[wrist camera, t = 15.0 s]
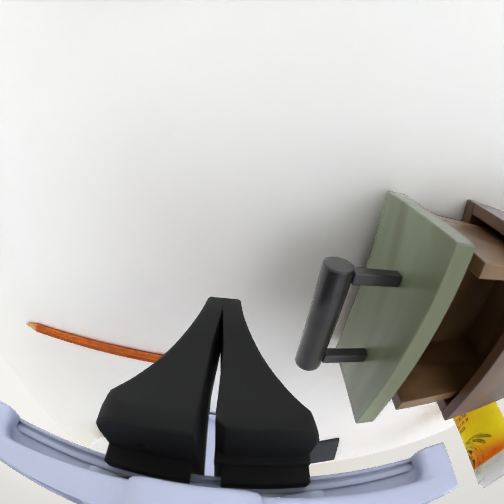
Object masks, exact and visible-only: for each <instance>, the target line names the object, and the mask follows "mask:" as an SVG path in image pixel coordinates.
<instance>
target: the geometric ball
mask: <svg viewBox="0 0 504 504" xmlns="http://www.w3.org/2000/svg"><path fill="white" fill-rule="evenodd" d="M108 445H109V442H108V441H107V440H106V438H105V437H102V438H97V439H96V440H95V441H94V443H93V444H92V445H91V446H90V447H89V449H91V450H94V451H97V452H100V453H103V454H106V452H107V448H108Z"/></svg>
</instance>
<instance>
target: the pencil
mask: <svg viewBox="0 0 504 504" xmlns="http://www.w3.org/2000/svg"><path fill="white" fill-rule="evenodd" d="M26 324H27V325H28V326H30V327H31V328H32V329H34V330H35V331H37V332H40V333H43V334H45V335H48V336H51V337H54V338H57V339H61V340H64V341H67V342H70V343H74V344H77V345H81V346H84V347H88V348H91V349H95V350H99V351H103V352H107V353H111V354H115V355H119V356H123V357H128V358H132V359H137V360H142V361H147V362H152V363H155V362H156V361H157V360H158V359H160V358H161V357H162V356H163V355H160V354H154V353H149V352H144V351H139V350H134V349H129V348H125V347H120V346H116V345H111V344H107V343H103V342H99V341H95V340H91V339H87V338H84V337H80V336H76V335H73V334H69V333H66V332H63V331H59V330H56V329H53V328H50V327H47V326H44V325H41V324H36V323H26Z"/></svg>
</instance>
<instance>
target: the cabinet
mask: <svg viewBox="0 0 504 504" xmlns="http://www.w3.org/2000/svg"><path fill="white" fill-rule="evenodd" d="M462 222H466V223H470V224H474V225H478V226H482V227H485V228H489V229H493V230H496V231H497V232H499V233H500V234H502V235H503V236H504V212H503V211H500V210H497V209H495V208H492V207H489V206H486V205H483V204H481V203H478V202H475V201H472V200H468V203H467V206H466V210H465V213H464V217H463V220H462ZM502 398H504V332H503V334H502V335H501V337H500V338H499V340H498V342H497V343H496V345H495V346H494V348H493V349H492V351H491V352H490V353H489V355H488V356H487V358H486V359H485V361H484V362H483V363H482V365H481V366H480V367H479V369H478V370H477V371H476V373H475V374H474V375H473V376H472V378H471V379H470V380H469V382H468V383H467V384H466V385H465V386H464V388H463V389H462V390H461V391H460V392H459V394H458V395H457V396H455V397H451V398H448V399H444V400H440V401H437V404H438V406H439V408H440V410H441V412H442V415H443V417H444V420H448V419H451V418H454V417H457V416H460V415H463V414H465V413H468V412H471V411H473V410H476V409H479V408H481V407H483V406H486V405H488V404H491V403H493V402H495V401H497V400H500V399H502Z"/></svg>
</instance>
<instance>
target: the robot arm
mask: <svg viewBox="0 0 504 504" xmlns="http://www.w3.org/2000/svg"><path fill="white" fill-rule="evenodd" d="M220 352H221V375H220V384H219V392H218V400H217V408H216V415H213V414H209V412H210V402H211V395H212V390H213V385H214V380H215V376H216V371H217V366H218V362H219V357H220ZM96 424H97V426H98V428H99V430H100V431H101V433H102V434H103V435H104V437H105V438H106V440H107V441H108V442H109V445H108V448H107V452H106V454H103V453H100V452H97V451H94V450H91V449H89V448H86V447H83V446H80V445H78V444H75V443H73V442H70V441H68V440H65V439H63V438H60V437H58V436H56V435H54V434H51V433H49V432H47V431H45V430H43V429H41V428H39V427H36V426H35V425H33V424H31V423H29V422H27V421H25V420H23V419H21V418H20V417H19V415H18V414H17V413H16V412H15V411H14V410H13V409H12V408H11V407H10V406H8V405H7V404H5V403H3V402H1V401H0V460H1V461H2V462H4V463H5V464H7V465H8V466H9V467H11V468H12V469H14V470H16V471H17V472H19V473H20V474H22V475H23V476H25V477H27V478H28V479H30V480H32V481H34V482H35V483H37V484H39V485H41V486H43V487H44V488H46V489H48V490H50V491H52V492H54V493H56V494H58V495H60V496H62V497H64V498H66V499H68V500H70V501H73V502H75V503H77V504H427V503H430V502H431V501H434V500H436V499H437V498H440V497H442V496H443V495H445V494H447V493H449V492H450V491H452V490H454V489H456V488H457V487H458V483H457V480H456V477H455V474H454V471H453V468H452V465H451V462H450V459H449V456H448V453H447V450H446V448H445V445H444V443H439V444H436V445H433V446H430V447H427V448H424V449H422V450H420V451H418V452H417V453H415V454H414V455H413V456H412V457H411V458H409V459H406V460H402V461H398V462H394V463H390V464H386V465H382V466H378V467H373V468H368V469H363V470H358V471H352V472H346V473H339V474H331V475H323V476H313V477H310V474H309V465H310V462H311V461H310V453H311V452H312V450H313V449H314V448H315V447H316V445H317V444H318V442H319V434H318V430H317V426H316V423H315V420H314V418H313V416H312V413H311V411H309V410H308V409H307V408H306V407H305V406H304V405H302V404H301V403H300V402H299V401H298V400H297V399H296V398H295V397H294V396H293V395H292V394H291V393H290V392H289V391H288V390H287V389H286V388H285V386H284V385H283V384H282V383H281V382H280V380H279V379H278V378H277V377H276V376H275V374H274V373H273V372H272V370H271V369H270V368H269V366H268V365H267V363H266V362H265V360H264V359H263V357H262V355H261V354H260V352H259V350H258V348H257V346H256V344H255V342H254V340H253V338H252V336H251V334H250V331H249V329H248V327H247V324H246V321H245V318H244V315H243V311H242V307H241V301H240V300H239V299H228V298H217V297H210V298H208V300H207V302H206V304H205V305H204V307H203V309H202V310H201V312H200V314H199V315H198V317H197V318H196V319H195V321H194V322H193V323H192V325H191V326H190V327H189V329H188V330H187V331H186V332H185V333H184V335H183V336H182V337H181V338H180V339H179V340H178V341H177V342H176V344H175V345H174V346H173V347H172V348H171V349H170V350H169V351H167V352H166V353H165V354H164V355H163V356H162V357H161V358H160V359H158V360H157V361H156V362H155V363H154V364H152V365H151V366H150V367H148V368H147V369H145V370H144V371H142V372H141V373H139V374H138V375H137V376H135V377H134V378H132V379H130V380H128V381H127V382H125V383H123V384H121V385H119V386H117V387H116V388H114V389H112V390H110V392H109V394H108V395H107V397H106V399H105V401H104V402H103V404H102V407H101V409H100V412H99V415H98V418H97V421H96ZM276 497H280V498H276Z"/></svg>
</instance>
